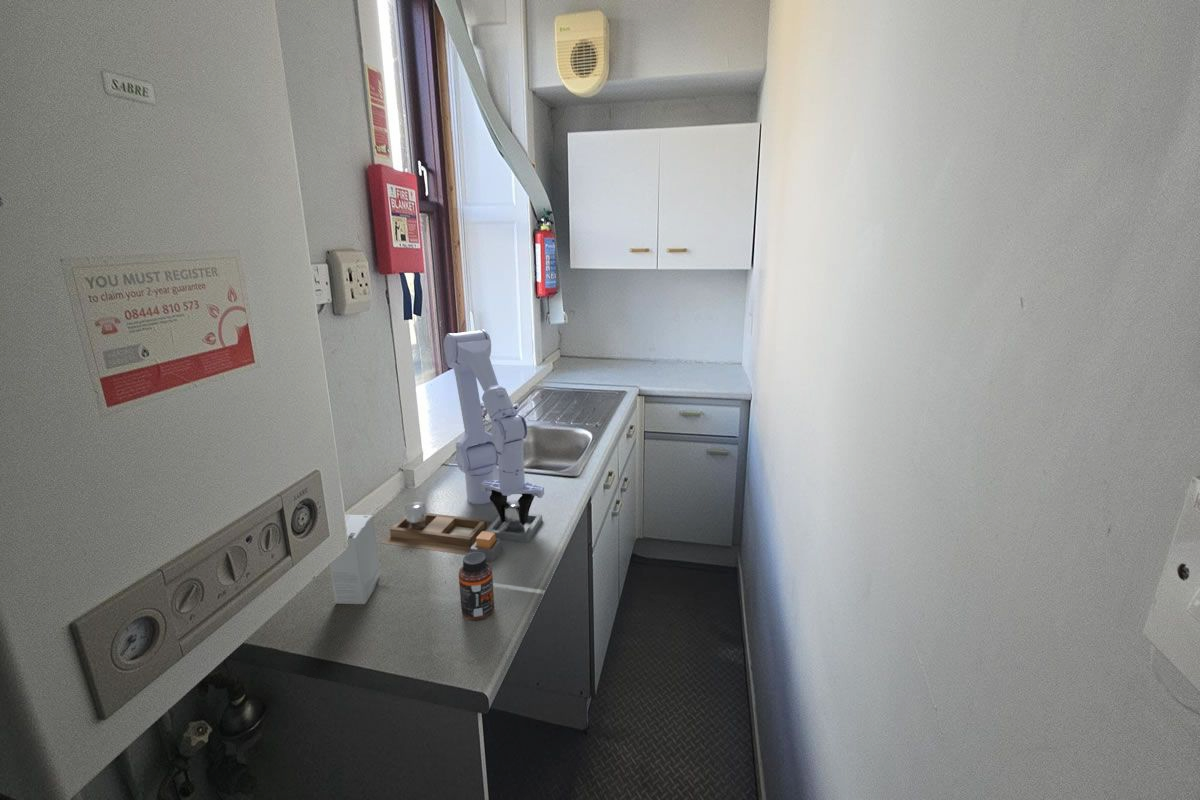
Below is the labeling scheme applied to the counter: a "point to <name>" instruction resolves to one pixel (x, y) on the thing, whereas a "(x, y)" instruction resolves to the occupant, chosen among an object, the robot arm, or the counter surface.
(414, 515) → the cylinder
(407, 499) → the counter surface
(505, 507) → the billet
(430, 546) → the wooden compartment tray
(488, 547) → the button
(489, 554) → the button housing
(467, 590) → the supplement bottle
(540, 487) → the robot arm
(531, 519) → the shallow grey tray
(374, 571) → the skincare box
